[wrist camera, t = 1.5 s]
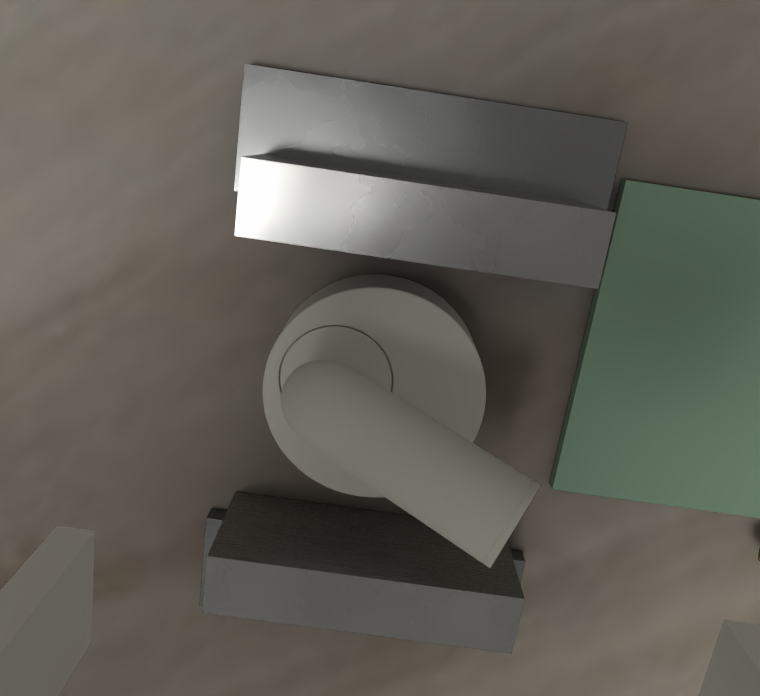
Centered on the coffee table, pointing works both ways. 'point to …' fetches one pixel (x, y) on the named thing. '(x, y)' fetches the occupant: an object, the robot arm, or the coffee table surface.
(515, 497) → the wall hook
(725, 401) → the felt pad
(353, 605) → the vise
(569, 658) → the coffee table surface
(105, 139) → the coffee table surface
